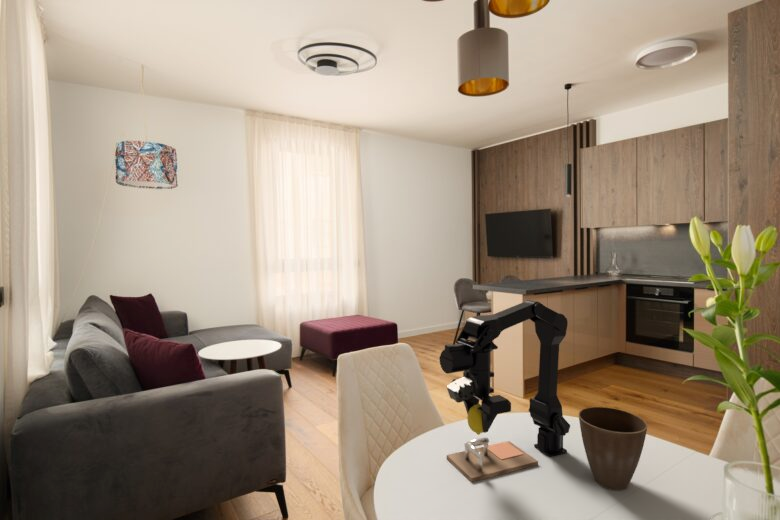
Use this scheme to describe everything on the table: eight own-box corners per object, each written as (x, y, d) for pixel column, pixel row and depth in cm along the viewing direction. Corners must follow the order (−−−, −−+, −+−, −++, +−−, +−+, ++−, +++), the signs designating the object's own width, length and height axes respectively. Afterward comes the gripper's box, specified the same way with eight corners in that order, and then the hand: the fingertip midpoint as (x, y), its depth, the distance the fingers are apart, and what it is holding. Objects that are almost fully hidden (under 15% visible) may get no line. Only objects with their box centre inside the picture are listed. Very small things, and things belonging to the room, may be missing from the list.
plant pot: (619, 507, 94) (621, 438, 93) (564, 474, 107) (565, 413, 107) (658, 489, 101) (660, 424, 100) (602, 460, 114) (604, 402, 113)
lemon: (489, 440, 105) (490, 409, 104) (467, 438, 106) (467, 407, 105) (489, 430, 110) (489, 400, 110) (467, 428, 111) (467, 399, 111)
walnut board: (509, 444, 123) (509, 441, 123) (538, 464, 112) (538, 461, 112) (446, 458, 115) (446, 455, 115) (471, 482, 104) (471, 478, 104)
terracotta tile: (506, 442, 122) (506, 441, 122) (523, 454, 115) (523, 453, 115) (484, 447, 119) (484, 446, 119) (501, 460, 112) (501, 459, 112)
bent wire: (486, 452, 116) (486, 436, 116) (503, 466, 109) (504, 448, 109) (463, 458, 113) (463, 441, 113) (479, 472, 106) (479, 454, 106)
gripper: (433, 361, 112) (433, 418, 113) (473, 383, 95) (472, 450, 96) (468, 356, 117) (468, 411, 117) (513, 377, 99) (512, 441, 100)
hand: (478, 427), depth 108 cm, fingers closed on lemon, 5 cm apart
